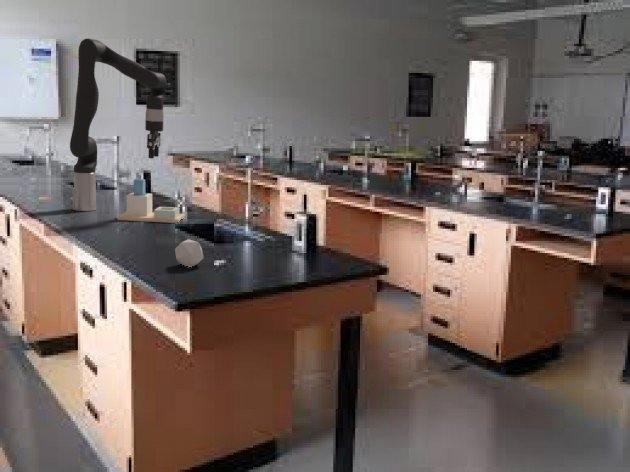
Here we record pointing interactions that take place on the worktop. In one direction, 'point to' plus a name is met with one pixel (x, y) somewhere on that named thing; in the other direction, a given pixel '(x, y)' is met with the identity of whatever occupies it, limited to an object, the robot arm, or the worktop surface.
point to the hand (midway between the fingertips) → (153, 157)
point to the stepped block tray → (148, 210)
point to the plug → (139, 187)
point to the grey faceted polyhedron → (189, 253)
